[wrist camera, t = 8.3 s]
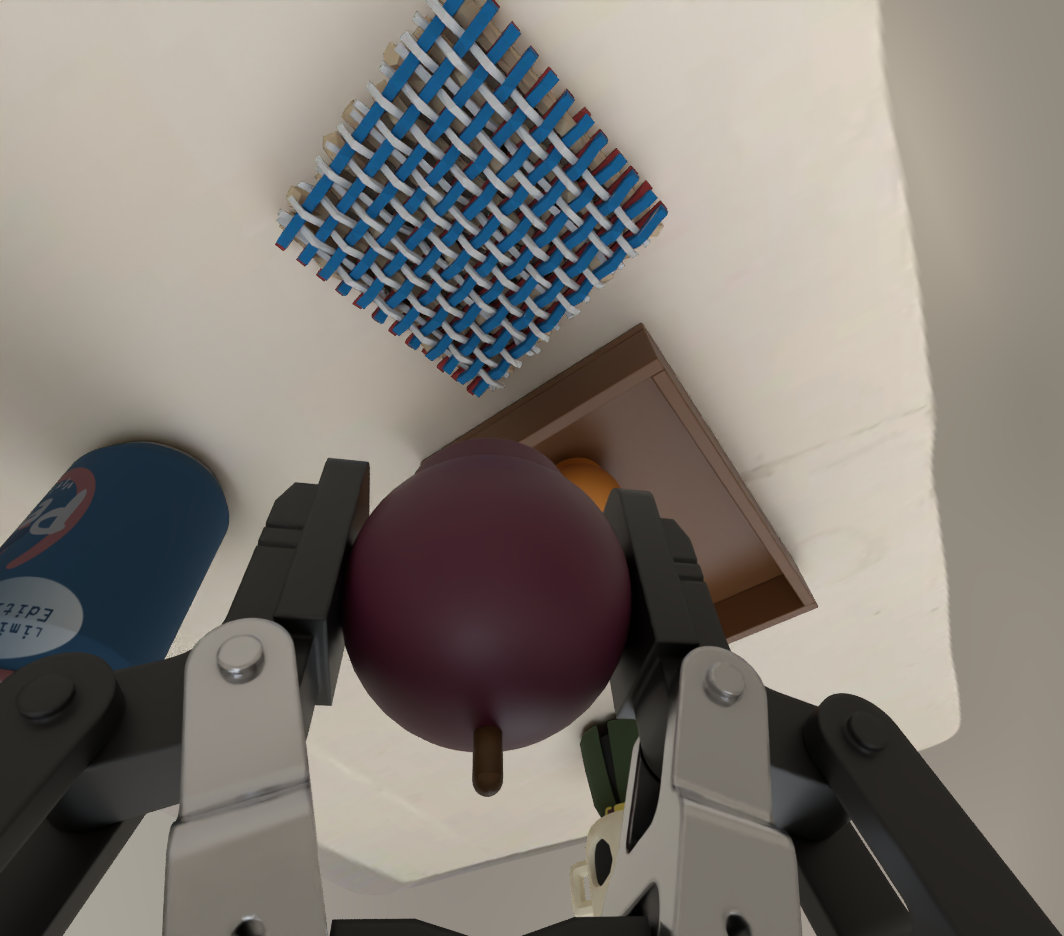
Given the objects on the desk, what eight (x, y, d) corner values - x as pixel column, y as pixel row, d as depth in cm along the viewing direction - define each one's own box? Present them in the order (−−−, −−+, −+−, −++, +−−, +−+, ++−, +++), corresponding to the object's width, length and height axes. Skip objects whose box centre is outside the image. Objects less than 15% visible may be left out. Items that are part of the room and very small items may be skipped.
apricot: (515, 473, 29) (518, 535, 26) (589, 430, 27) (602, 490, 24) (563, 522, 31) (571, 585, 28) (633, 485, 30) (650, 546, 26)
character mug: (663, 689, 43) (715, 904, 33) (700, 728, 47) (757, 931, 37) (536, 735, 46) (548, 943, 36) (580, 768, 50) (603, 964, 40)
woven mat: (265, 224, 22) (247, 243, 20) (454, -53, 17) (451, -57, 16) (481, 391, 26) (481, 417, 25) (672, 210, 22) (686, 228, 20)
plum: (313, 484, 11) (205, 789, 7) (515, 350, 10) (535, 637, 6) (470, 606, 14) (460, 885, 10) (649, 516, 12) (734, 800, 8)
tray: (420, 461, 29) (414, 504, 26) (641, 321, 25) (657, 357, 22) (618, 642, 39) (626, 685, 37) (796, 564, 35) (818, 607, 33)
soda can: (97, 404, 26) (-125, 640, 17) (257, 469, 29) (144, 703, 19) (69, 504, 29) (-127, 746, 20) (215, 554, 32) (101, 787, 23)
